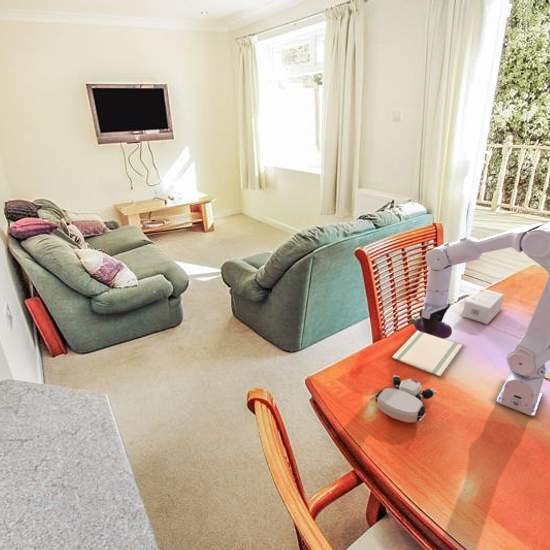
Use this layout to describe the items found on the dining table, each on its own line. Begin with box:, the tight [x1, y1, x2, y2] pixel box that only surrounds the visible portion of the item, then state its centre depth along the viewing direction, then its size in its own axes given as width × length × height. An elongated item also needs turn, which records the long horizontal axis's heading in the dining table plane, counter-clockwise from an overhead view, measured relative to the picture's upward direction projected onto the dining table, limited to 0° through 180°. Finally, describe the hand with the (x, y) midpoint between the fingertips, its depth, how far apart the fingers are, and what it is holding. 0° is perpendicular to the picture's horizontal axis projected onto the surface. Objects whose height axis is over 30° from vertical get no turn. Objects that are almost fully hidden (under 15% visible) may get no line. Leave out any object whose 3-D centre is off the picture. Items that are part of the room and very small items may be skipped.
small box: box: [462, 288, 505, 325], centre depth 129 cm, size 8×6×13 cm
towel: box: [391, 329, 463, 378], centre depth 112 cm, size 18×14×1 cm
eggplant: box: [409, 316, 453, 340], centre depth 109 cm, size 12×5×5 cm, turn 48°
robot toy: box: [369, 374, 437, 424], centre depth 92 cm, size 12×4×15 cm
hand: (432, 329), depth 109 cm, fingers closed on eggplant, 4 cm apart
